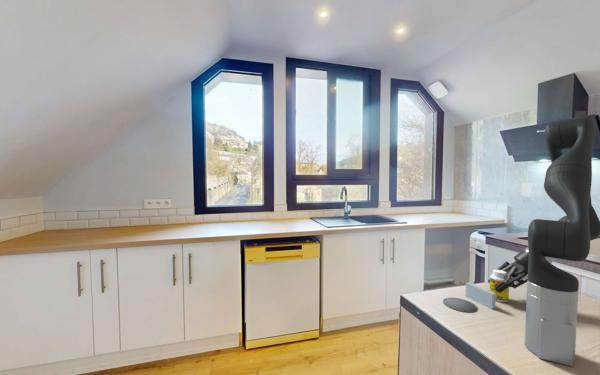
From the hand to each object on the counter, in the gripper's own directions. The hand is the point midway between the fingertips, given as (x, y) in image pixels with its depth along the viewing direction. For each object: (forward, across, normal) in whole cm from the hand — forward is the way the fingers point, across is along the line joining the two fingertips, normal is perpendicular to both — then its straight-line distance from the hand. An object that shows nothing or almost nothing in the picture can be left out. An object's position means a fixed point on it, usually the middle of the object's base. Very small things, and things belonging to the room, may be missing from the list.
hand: (493, 286), depth 96 cm
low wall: (+7, +5, -1) cm, 9 cm away
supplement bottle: (+2, 0, +4) cm, 5 cm away
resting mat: (+12, +10, -6) cm, 17 cm away
